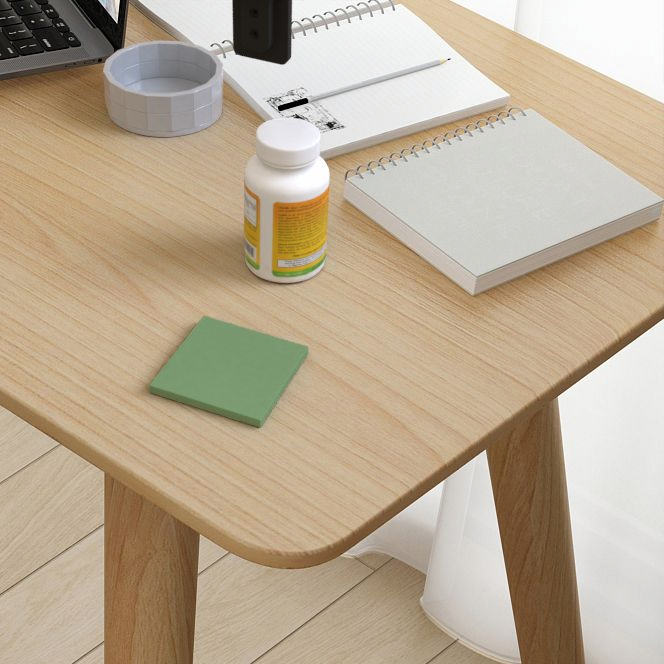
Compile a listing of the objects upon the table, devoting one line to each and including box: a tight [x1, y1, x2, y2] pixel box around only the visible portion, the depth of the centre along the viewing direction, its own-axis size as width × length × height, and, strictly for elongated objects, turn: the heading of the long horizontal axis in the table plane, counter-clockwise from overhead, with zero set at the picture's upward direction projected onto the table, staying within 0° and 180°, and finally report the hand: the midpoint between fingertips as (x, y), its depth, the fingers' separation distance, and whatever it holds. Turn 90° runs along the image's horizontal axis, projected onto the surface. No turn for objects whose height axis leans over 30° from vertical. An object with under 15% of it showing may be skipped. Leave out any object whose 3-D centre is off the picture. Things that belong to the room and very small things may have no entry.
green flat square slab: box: [148, 315, 309, 428], centre depth 70 cm, size 7×7×1 cm
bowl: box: [102, 40, 224, 138], centre depth 93 cm, size 9×9×4 cm
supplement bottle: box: [243, 117, 331, 284], centre depth 76 cm, size 5×5×10 cm
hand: (297, 22), depth 68 cm, fingers open, 9 cm apart
